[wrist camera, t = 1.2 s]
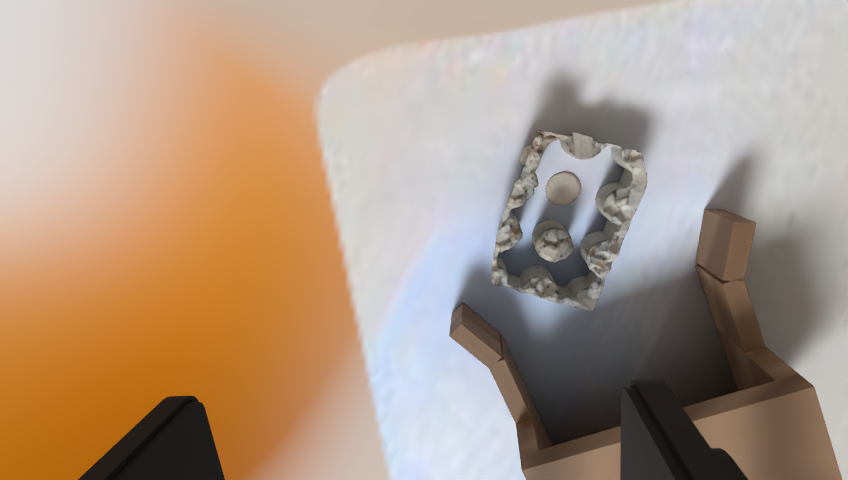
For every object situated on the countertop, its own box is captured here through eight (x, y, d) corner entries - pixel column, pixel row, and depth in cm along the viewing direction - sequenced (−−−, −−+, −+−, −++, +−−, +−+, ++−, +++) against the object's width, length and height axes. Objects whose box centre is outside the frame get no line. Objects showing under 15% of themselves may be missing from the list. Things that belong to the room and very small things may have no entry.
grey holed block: (528, 120, 29) (536, 120, 25) (640, 151, 29) (666, 157, 25) (480, 267, 32) (480, 288, 28) (581, 297, 32) (595, 322, 28)
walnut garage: (721, 202, 29) (805, 234, 22) (783, 396, 32) (874, 480, 25) (449, 307, 33) (441, 363, 26) (527, 469, 36) (540, 560, 29)
